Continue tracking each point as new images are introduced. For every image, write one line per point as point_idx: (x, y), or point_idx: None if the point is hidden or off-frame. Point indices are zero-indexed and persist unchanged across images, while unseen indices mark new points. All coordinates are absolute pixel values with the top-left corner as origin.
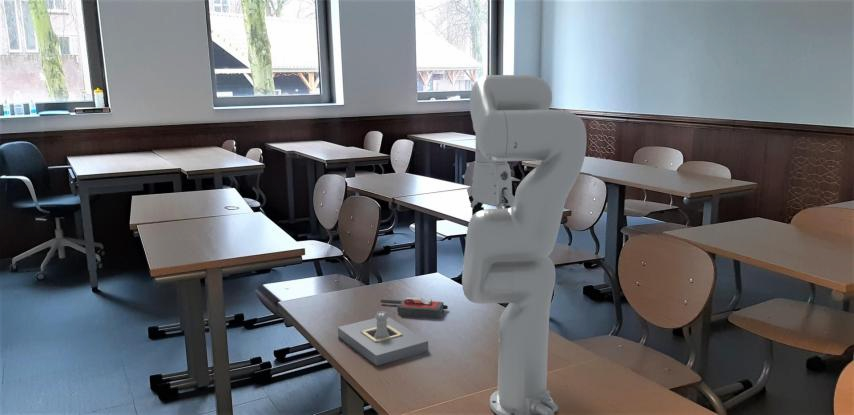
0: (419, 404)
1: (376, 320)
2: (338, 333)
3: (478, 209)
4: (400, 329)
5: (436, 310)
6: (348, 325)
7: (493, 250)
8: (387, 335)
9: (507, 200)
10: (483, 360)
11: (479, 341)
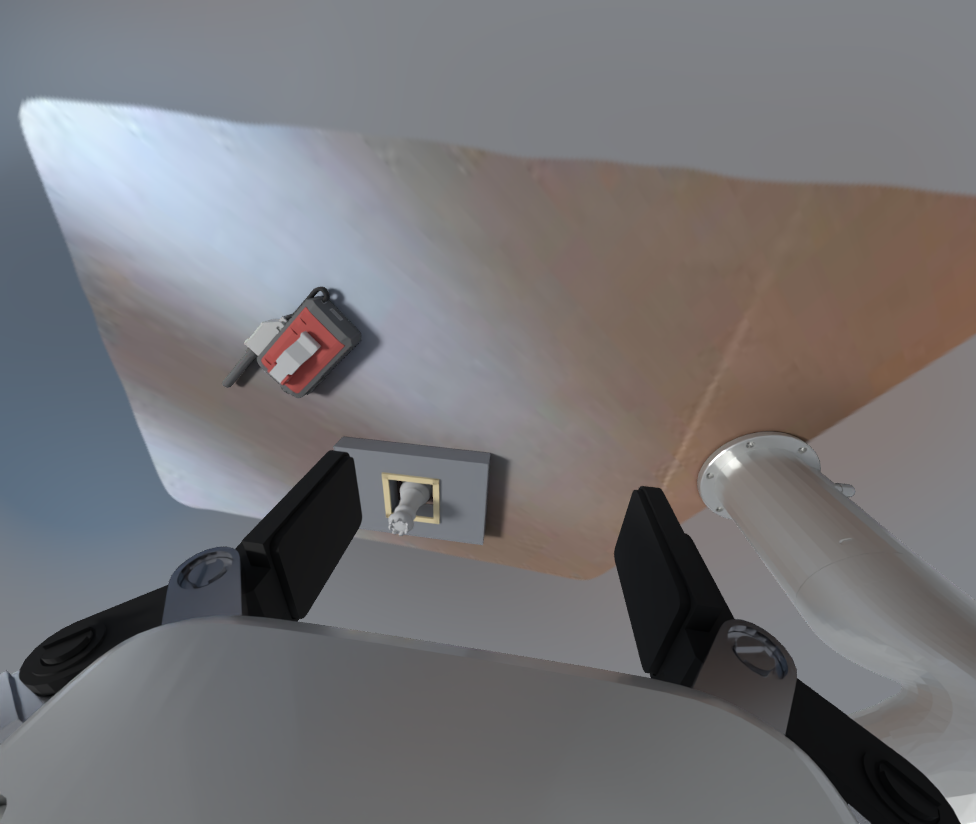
0: None
1: None
2: None
3: (295, 586)
4: (412, 466)
5: (351, 346)
6: None
7: None
8: (423, 495)
9: (739, 813)
10: (591, 408)
11: (520, 354)
